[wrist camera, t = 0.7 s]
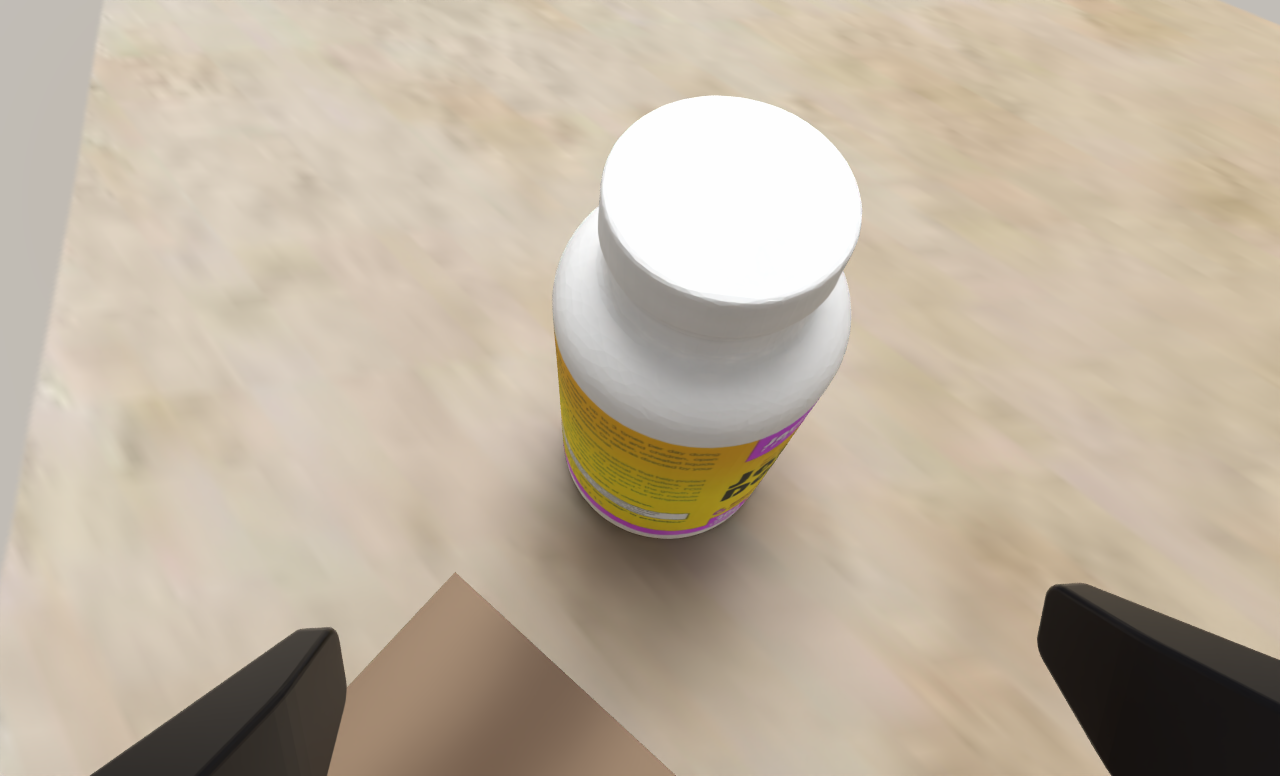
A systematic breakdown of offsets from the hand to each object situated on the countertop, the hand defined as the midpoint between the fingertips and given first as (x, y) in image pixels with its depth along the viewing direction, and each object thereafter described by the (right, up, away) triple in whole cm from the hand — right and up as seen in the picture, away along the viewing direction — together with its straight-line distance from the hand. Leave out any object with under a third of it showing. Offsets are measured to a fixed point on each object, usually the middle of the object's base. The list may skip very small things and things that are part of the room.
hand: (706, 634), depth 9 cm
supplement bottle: (0, +1, +15) cm, 15 cm away
